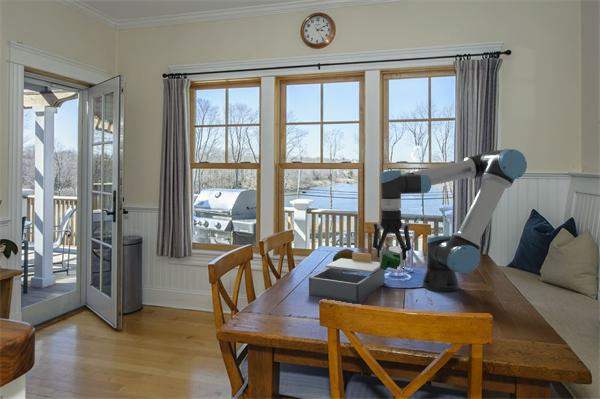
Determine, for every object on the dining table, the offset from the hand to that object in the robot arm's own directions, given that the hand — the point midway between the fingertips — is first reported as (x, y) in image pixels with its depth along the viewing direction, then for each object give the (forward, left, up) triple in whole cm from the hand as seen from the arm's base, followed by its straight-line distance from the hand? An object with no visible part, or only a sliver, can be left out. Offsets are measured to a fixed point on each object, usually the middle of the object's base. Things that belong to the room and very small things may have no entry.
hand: (391, 266), depth 155 cm
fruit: (+38, -42, -14) cm, 58 cm away
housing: (+21, -7, -14) cm, 26 cm away
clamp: (0, 0, -1) cm, 1 cm away
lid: (+21, -15, -5) cm, 26 cm away
